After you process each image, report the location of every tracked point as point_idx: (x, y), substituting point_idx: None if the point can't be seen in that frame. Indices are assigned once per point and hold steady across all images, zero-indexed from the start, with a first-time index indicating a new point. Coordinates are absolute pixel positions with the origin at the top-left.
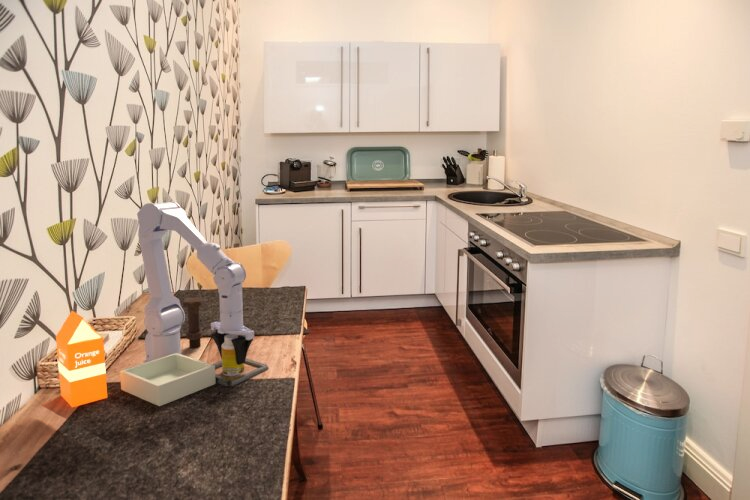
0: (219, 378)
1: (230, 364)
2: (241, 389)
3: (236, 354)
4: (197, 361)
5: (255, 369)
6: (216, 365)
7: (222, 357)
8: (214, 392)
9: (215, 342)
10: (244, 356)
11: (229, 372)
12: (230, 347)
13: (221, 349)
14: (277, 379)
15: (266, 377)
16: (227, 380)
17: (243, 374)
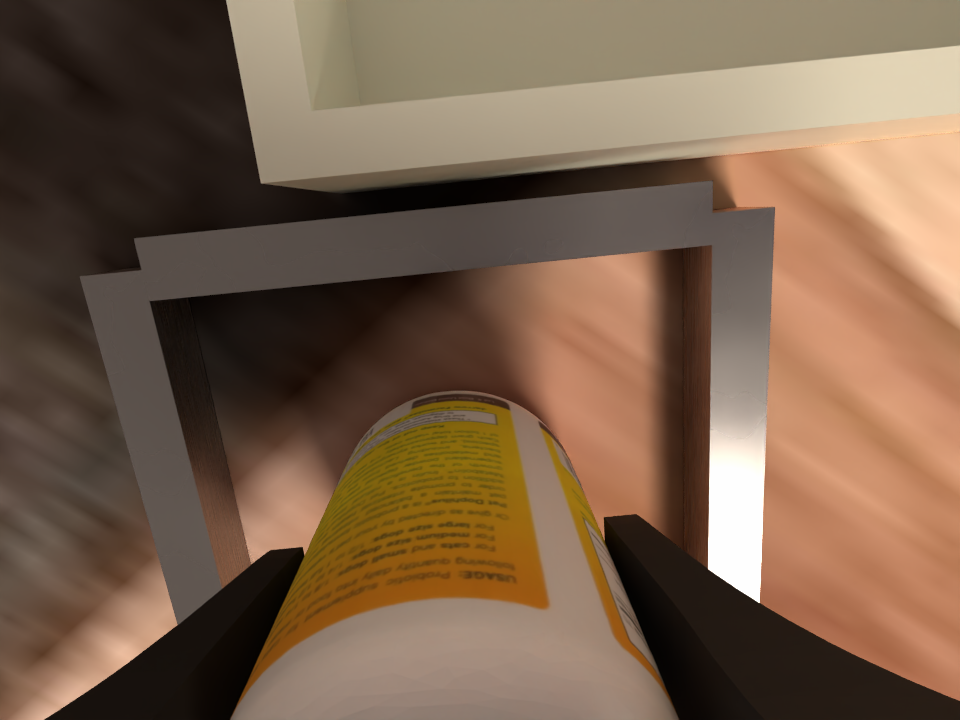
0: (279, 224)
1: (350, 480)
2: (3, 301)
3: (189, 642)
4: (709, 75)
5: None
6: (704, 451)
7: (503, 487)
8: (119, 33)
9: (880, 670)
10: None
11: (385, 425)
12: (264, 711)
13: (667, 614)
14: (19, 666)
15: (133, 632)
16: (141, 252)
17: (191, 487)
